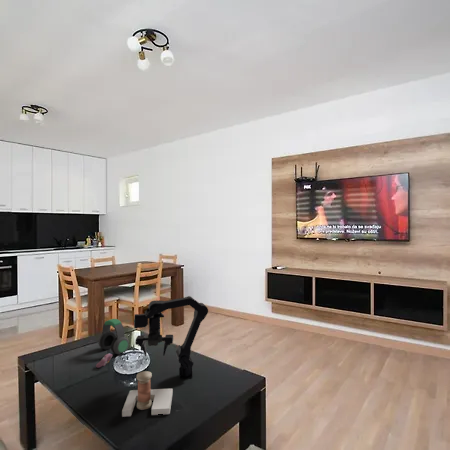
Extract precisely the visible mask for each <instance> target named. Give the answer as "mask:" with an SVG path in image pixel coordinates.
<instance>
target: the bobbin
mask: <svg viewBox="0 0 450 450" xmlns="http://www.w3.org/2000/svg"><path fill="white" fill-rule="evenodd" d="M152 374H153V373H152V372H151V371H148V370H144V371H143V370H142V371H140V372H138V373H137V374H136V380H137V390H138V401H136V409H138V410H141V411H143V410H144V411H145V410H147V409H150V408H152V405H153V402H152V401H153V400H150V399H151V389H152V388H151V381H152V380H151V378H152V376H153V375H152Z"/></svg>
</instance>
